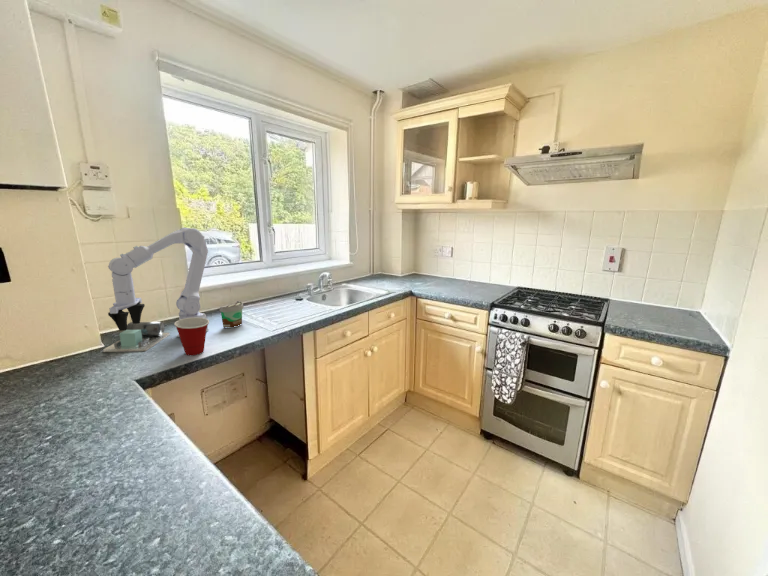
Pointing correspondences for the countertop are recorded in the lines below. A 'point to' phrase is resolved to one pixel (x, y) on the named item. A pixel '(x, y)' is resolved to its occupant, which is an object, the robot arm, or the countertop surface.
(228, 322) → the food container
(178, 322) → the plastic cup
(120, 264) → the robot arm
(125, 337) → the pump block
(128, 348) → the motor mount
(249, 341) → the countertop surface
